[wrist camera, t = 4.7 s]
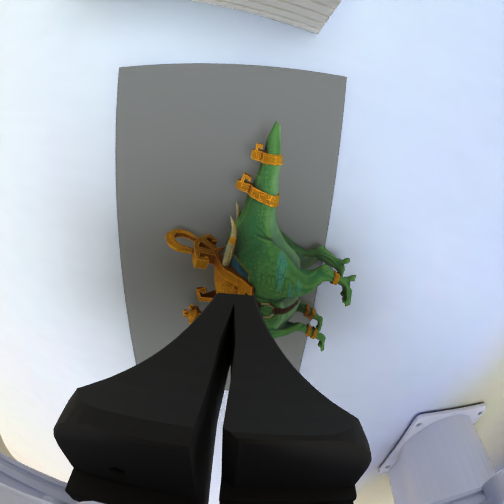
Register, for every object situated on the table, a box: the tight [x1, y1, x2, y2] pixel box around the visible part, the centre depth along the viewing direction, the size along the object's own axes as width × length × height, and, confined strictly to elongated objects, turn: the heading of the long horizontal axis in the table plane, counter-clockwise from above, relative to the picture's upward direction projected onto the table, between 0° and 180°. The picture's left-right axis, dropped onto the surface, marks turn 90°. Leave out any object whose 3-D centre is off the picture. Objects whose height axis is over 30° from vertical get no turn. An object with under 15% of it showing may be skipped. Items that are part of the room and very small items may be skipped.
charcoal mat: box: [116, 63, 347, 390], centre depth 16 cm, size 18×10×1 cm, turn 176°
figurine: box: [165, 121, 356, 351], centre depth 14 cm, size 3×12×8 cm
